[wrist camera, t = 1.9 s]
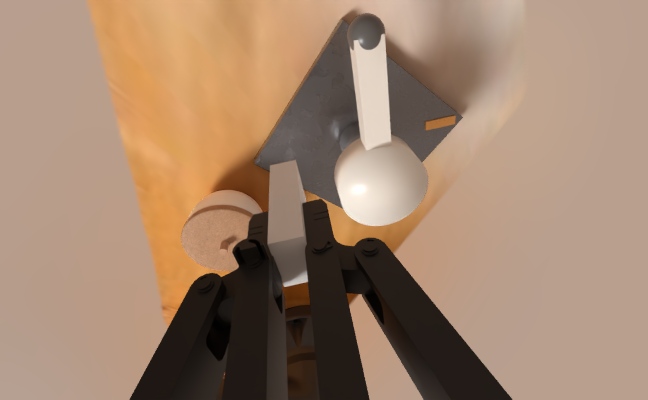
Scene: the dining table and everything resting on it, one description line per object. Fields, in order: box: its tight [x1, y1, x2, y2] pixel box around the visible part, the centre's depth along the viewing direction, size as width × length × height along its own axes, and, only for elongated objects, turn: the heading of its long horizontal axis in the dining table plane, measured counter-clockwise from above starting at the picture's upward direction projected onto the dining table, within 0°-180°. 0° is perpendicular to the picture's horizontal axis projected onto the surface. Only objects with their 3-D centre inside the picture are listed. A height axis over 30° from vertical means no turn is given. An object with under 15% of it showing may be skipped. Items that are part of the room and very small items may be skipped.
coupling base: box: [254, 19, 463, 208], centre depth 39 cm, size 20×20×10 cm
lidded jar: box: [181, 190, 263, 271], centre depth 43 cm, size 11×11×9 cm
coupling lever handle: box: [334, 13, 428, 226], centre depth 30 cm, size 20×9×4 cm, turn 10°
